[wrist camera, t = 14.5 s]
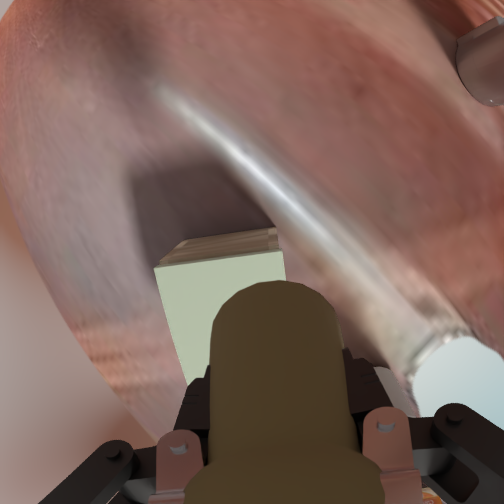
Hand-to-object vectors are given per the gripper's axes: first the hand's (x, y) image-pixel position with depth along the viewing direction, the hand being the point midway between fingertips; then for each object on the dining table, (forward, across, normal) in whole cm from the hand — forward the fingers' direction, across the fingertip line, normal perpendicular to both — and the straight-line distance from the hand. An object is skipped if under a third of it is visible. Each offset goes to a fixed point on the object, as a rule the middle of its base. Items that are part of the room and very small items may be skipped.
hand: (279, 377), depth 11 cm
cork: (+3, 0, 0) cm, 3 cm away
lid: (+14, +4, +4) cm, 15 cm away
